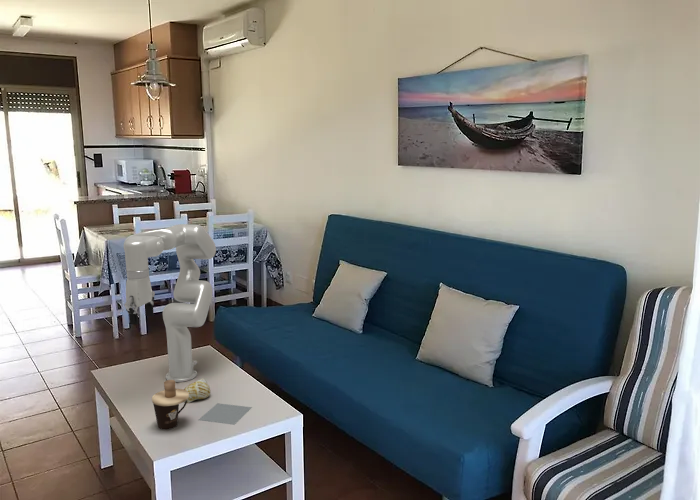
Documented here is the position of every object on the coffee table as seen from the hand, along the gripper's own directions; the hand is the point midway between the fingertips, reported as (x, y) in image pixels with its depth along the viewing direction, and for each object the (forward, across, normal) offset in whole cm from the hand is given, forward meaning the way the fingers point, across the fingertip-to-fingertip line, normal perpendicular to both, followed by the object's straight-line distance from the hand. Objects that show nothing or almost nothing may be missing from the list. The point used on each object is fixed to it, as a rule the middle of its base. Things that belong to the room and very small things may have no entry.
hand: (142, 319), depth 215 cm
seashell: (+33, -6, +16) cm, 37 cm away
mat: (+32, +4, +33) cm, 46 cm away
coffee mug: (+32, +15, +19) cm, 40 cm away
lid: (+22, +15, +19) cm, 33 cm away
